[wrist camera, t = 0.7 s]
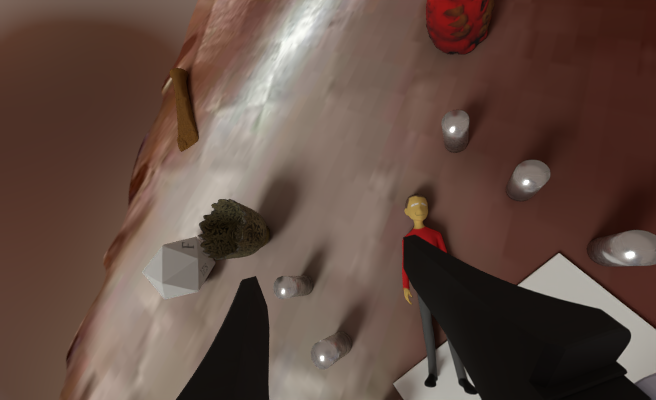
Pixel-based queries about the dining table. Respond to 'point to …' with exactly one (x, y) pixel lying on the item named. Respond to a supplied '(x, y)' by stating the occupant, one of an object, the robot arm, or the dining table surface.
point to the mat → (563, 283)
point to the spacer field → (521, 187)
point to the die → (179, 268)
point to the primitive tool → (183, 110)
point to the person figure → (418, 213)
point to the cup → (232, 231)
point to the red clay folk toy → (458, 23)
